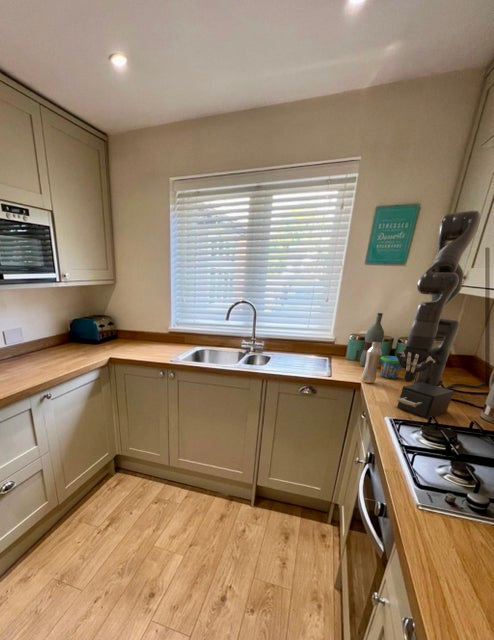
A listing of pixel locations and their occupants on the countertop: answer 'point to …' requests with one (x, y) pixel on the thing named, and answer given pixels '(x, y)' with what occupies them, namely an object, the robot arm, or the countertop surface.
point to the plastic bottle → (372, 363)
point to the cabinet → (438, 394)
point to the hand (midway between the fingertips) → (408, 381)
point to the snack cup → (390, 367)
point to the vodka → (372, 337)
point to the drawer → (414, 402)
